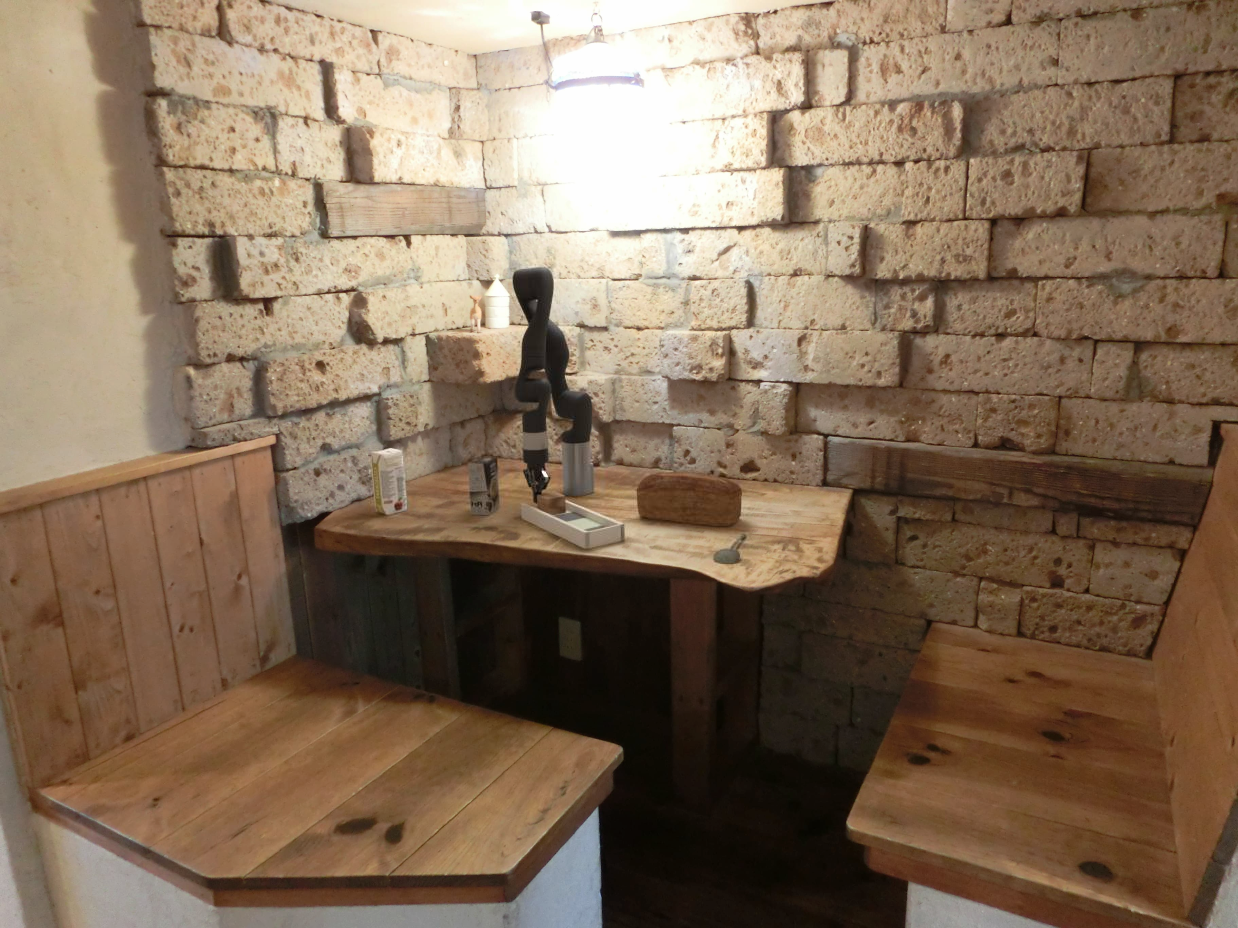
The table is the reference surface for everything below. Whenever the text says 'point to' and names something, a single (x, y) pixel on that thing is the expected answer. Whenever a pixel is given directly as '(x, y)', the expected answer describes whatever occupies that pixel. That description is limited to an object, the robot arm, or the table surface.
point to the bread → (689, 498)
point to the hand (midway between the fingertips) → (537, 502)
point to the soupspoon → (729, 553)
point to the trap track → (577, 525)
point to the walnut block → (551, 503)
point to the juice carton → (388, 481)
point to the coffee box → (483, 485)
